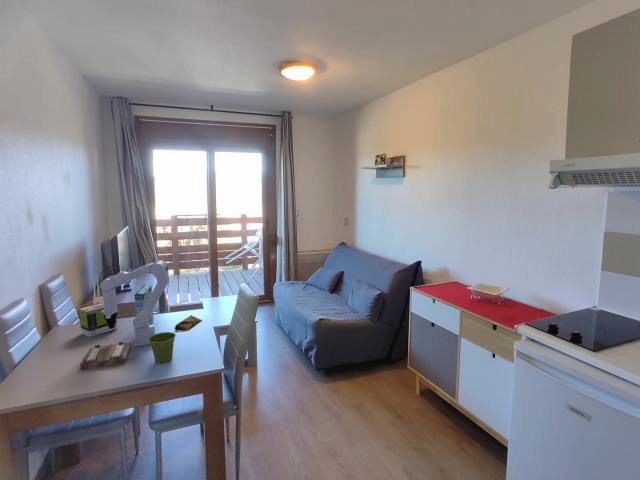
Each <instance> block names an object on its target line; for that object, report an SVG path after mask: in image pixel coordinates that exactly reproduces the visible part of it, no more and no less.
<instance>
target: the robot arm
mask: <svg viewBox="0 0 640 480" xmlns="http://www.w3.org/2000/svg"><path fill="white" fill-rule="evenodd" d="M169 268H170V267H169V265H168V264H167V262H166V261H165V260H160V259H159V260H157V261H153V262H150V263H148V264H144V265H141V266H140V267H138V268H135V269H134V270H131V271H130V272H127V271H119V272H118V273H117V274H115V275H110V276H109V277H106V278H105V279H104V280H102V281H101V282H100V284H99V288H100V290H102V301H103V302H102V303H103V304H104V310H103V311H102V312H101V313H104V314H105V315H104V319H105V320H106V321H107V324H108V327H109V329H113V328H114V327H115V323H116V320H117V317H118V314H119V310H118V303H117V291H116V288H118V287H120V286H122V285H125V284H127V283H130V281H131V279H133V278H135V277H137V276H141V275H143V274H147V275H153V277H154V278H156V281H157V283H156V284H155V286H154V288H153V289H152V293H151V295H150V297H149V299H148V300H147V302H146V304H145V305H144V307H143V309H142V310H141V312H140V313H139V314H138V315H137V317H136V316H135V317H134V318H133V319H132V325H133V327H134V337H135V342H134V344H133V347H139V346H140V347H141V346H147V345H149V346H150V342H149V341H148V338H149V337H151V336H152V335H155V334H156V329H155V324H152V325H150V323H149V322H148V321H149V320H150V314H151V312H152V310H153V311H154V308H155V306H156V305H157V303H158V301H159V299H160V298H161V296H162V295H163V293H164V291H165V290H166V288H167V286H168V285H169V282H170V275H169V274H170V273H169V271H170V270H169Z"/></svg>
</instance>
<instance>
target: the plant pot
mask: <svg viewBox="0 0 640 480" xmlns="http://www.w3.org/2000/svg"><path fill="white" fill-rule="evenodd" d="M176 335H177V334H176V333H174V332H172V331H171V332H170V331H165V332H163V331H162V332H159V333H155V335H152V336H151V337H149V338H148V341H149V342H150V344H149V346H151V349H152V354H153V357H154V360H155V362H156V364H157V363H158V364H164V363H166V362H170V361H171V360H172V359H173V353H174V345H175V344H174V343H175V338H176Z"/></svg>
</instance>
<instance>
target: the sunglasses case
mask: <svg viewBox="0 0 640 480" xmlns="http://www.w3.org/2000/svg"><path fill="white" fill-rule="evenodd" d="M202 321H203V319H200V318H198V317H196V316H194V315H192V314H191V315H189V316H187V317H186V318H184V319H182V320H181V321H179V323H177V324H176V325H175V326H174V331H178V330H181V331H185V332H188V331H190V330H191V329H192V328H193V327H195V326H196V325H198V324H199V323H201V322H202ZM181 331H180V332H181Z"/></svg>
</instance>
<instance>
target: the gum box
mask: <svg viewBox="0 0 640 480" xmlns="http://www.w3.org/2000/svg"><path fill="white" fill-rule="evenodd" d="M152 288H153V287H152V284H144V285H142V286H141V287H140V289H138V290H137V291H136V292H135V293H134V306H135V318H136V317H137V315H138V314H139V313H140V312H141V310H142V309H143V307H144V305H145V304H146V302H147V300H148V299H149V297H150V295H151V293H152V292H153V289H152ZM148 322H149V323H150V325H153V323H154V309H153V310H152V312H151V314H150V320H149V321H148Z"/></svg>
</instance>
